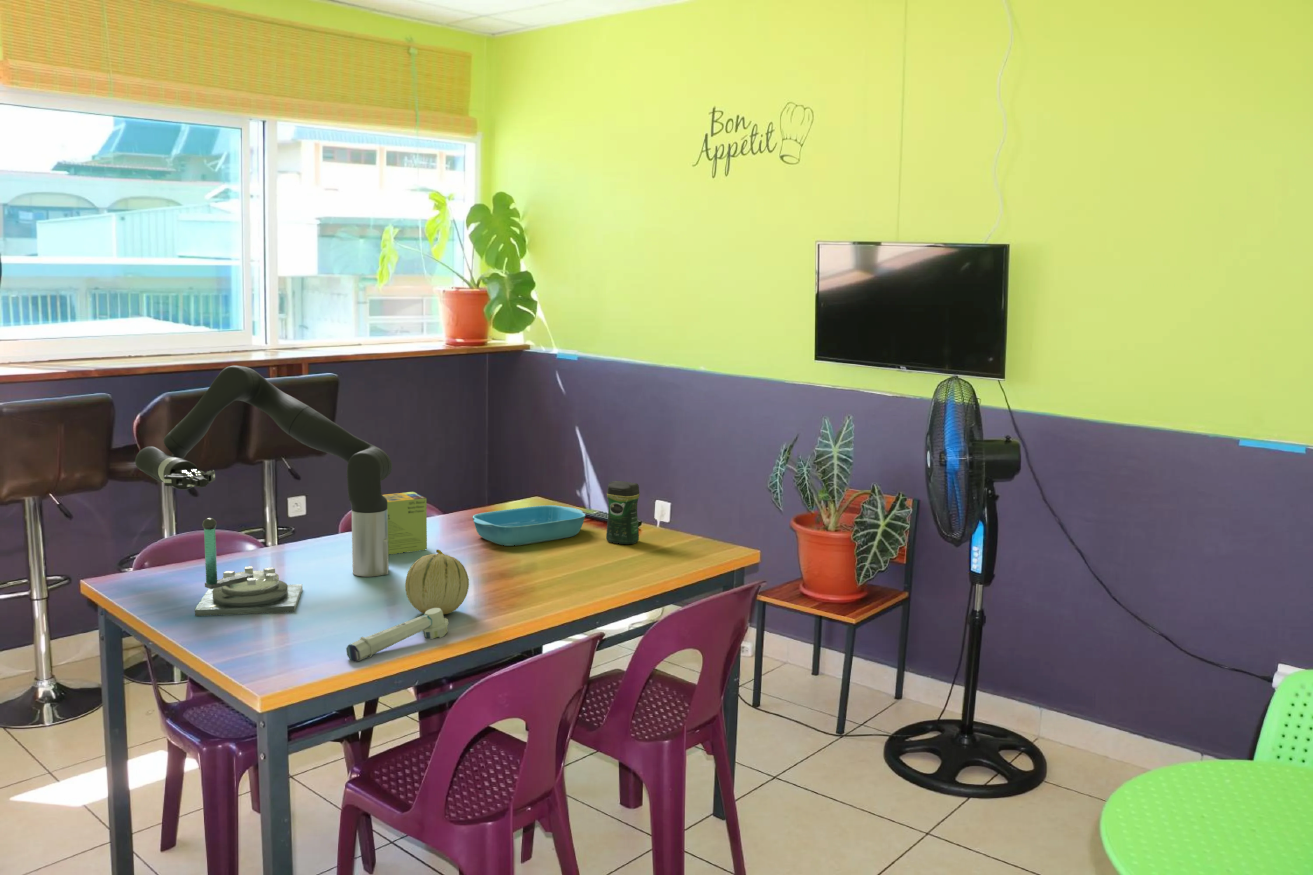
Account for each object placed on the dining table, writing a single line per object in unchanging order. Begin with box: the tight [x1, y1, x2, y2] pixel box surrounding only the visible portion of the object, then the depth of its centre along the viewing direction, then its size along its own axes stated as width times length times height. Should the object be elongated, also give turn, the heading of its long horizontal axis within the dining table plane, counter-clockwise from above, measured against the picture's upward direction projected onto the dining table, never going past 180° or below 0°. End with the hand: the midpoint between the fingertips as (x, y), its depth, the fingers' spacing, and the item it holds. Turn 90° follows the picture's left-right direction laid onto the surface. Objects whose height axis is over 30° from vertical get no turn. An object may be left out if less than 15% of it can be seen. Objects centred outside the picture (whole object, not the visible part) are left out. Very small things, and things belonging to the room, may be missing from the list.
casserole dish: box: [472, 504, 586, 547], centre depth 333 cm, size 37×22×7 cm, turn 130°
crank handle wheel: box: [201, 517, 280, 596], centre depth 258 cm, size 18×13×19 cm
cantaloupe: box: [404, 549, 470, 616], centre depth 256 cm, size 15×15×15 cm
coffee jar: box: [605, 480, 641, 545], centre depth 328 cm, size 10×8×19 cm
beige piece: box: [345, 608, 449, 663], centre depth 234 cm, size 5×7×25 cm
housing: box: [194, 580, 303, 617], centre depth 262 cm, size 22×18×4 cm
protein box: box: [382, 491, 428, 556], centre depth 313 cm, size 10×15×16 cm
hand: (202, 483), depth 266 cm, fingers closed
